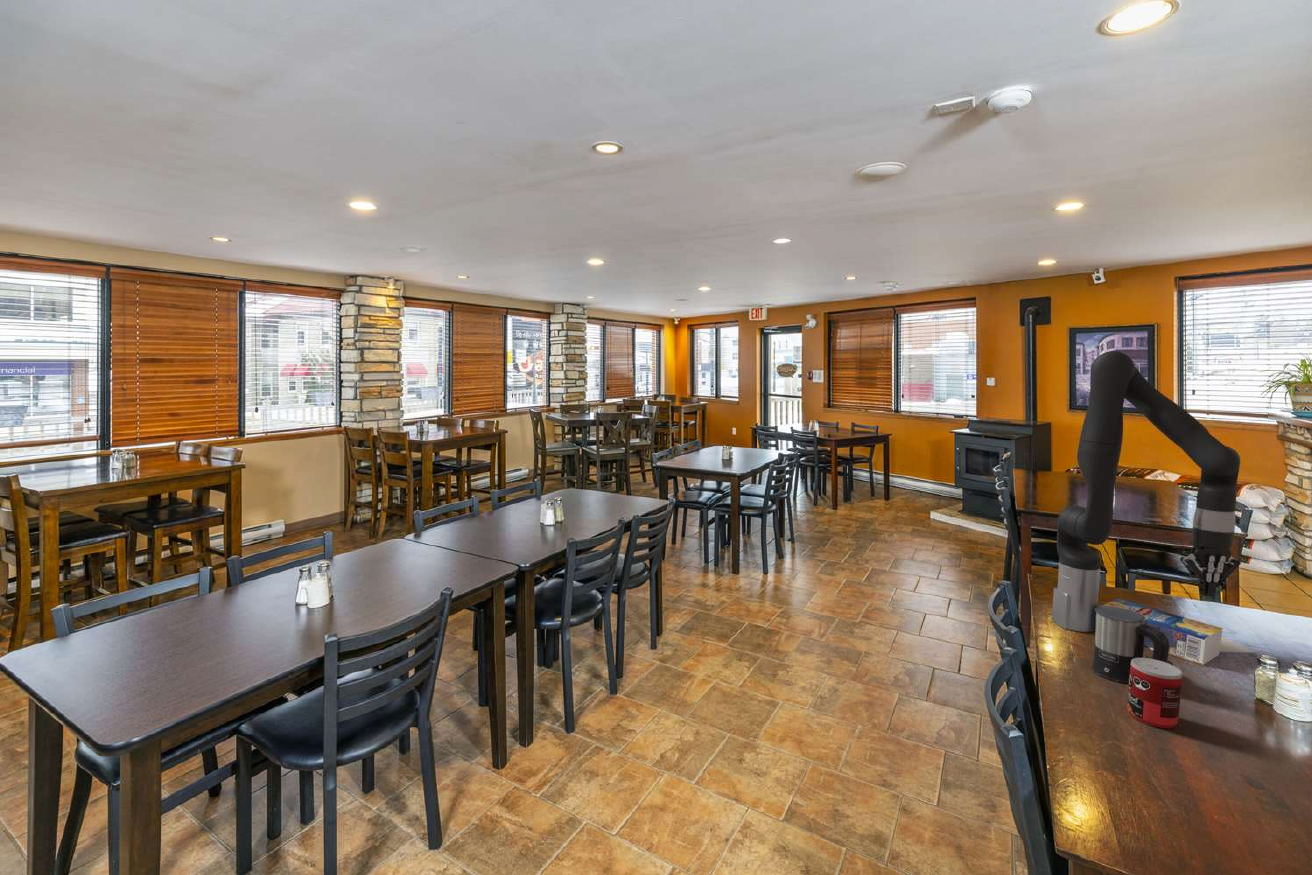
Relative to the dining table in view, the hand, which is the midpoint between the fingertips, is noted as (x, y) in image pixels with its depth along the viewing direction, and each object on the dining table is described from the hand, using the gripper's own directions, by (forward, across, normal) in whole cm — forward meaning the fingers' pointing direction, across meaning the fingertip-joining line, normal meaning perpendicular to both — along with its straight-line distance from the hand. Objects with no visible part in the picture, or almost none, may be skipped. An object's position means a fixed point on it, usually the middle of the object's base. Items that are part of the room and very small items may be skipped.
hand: (1206, 595), depth 148 cm
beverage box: (+11, -2, -5) cm, 12 cm away
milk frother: (+15, -26, -13) cm, 32 cm away
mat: (+14, 0, +10) cm, 17 cm away
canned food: (+15, -35, -32) cm, 50 cm away
